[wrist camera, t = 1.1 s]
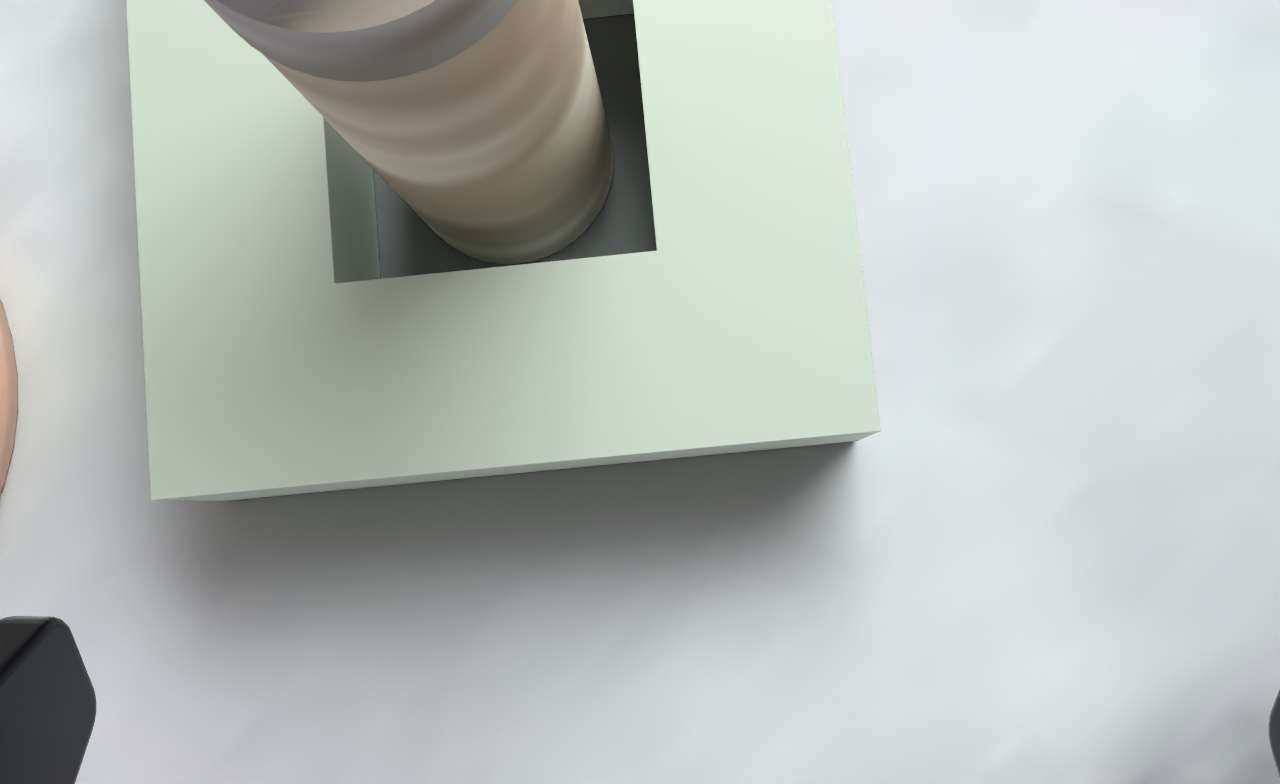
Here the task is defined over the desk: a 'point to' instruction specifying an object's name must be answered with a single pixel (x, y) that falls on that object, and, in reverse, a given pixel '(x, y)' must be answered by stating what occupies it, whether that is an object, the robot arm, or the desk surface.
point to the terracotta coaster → (7, 396)
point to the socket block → (494, 276)
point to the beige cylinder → (455, 108)
